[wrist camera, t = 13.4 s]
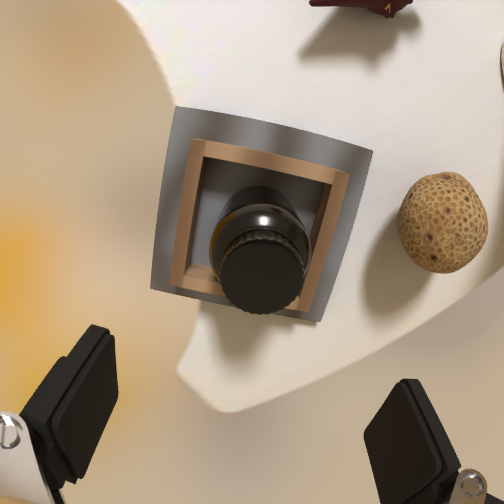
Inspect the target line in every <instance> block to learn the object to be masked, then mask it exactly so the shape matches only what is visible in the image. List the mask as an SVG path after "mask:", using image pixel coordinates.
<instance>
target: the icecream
mask: <svg viewBox="0 0 504 504" xmlns="http://www.w3.org/2000/svg"><path fill="white" fill-rule="evenodd" d="M412 2H413V0H310V1H309V4H310V5H311V6H318V7H321V6H346V7H367V8H368V9H369V10H371V11H372V12H374V13H377V14H380V15H382V16H384V17H385V18H389V17H391V18H393V17H394V15H395V14H396V12H397V11H399V10H401V9H403V8H404V7H405V6H406V5H407V4H411V3H412Z"/></svg>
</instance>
